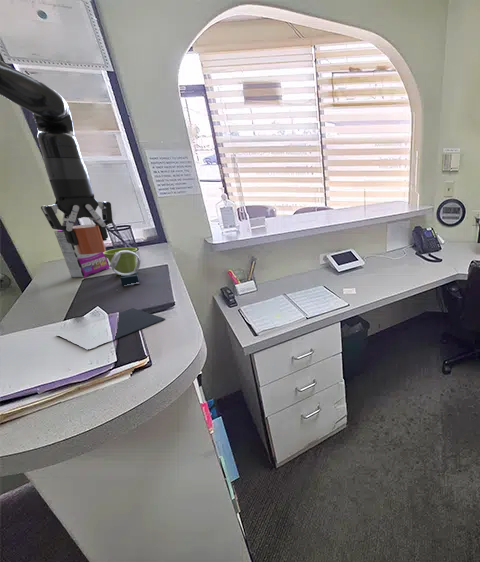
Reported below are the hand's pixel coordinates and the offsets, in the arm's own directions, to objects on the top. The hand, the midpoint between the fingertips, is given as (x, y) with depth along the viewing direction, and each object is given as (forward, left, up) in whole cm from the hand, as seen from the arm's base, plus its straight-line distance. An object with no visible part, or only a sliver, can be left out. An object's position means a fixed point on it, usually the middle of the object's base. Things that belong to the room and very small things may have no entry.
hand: (89, 242), depth 84 cm
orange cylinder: (0, 0, -3) cm, 3 cm away
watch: (+11, +8, -17) cm, 22 cm away
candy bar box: (+11, +33, -17) cm, 39 cm away
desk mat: (-8, -21, -17) cm, 28 cm away
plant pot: (+16, +20, -17) cm, 31 cm away
